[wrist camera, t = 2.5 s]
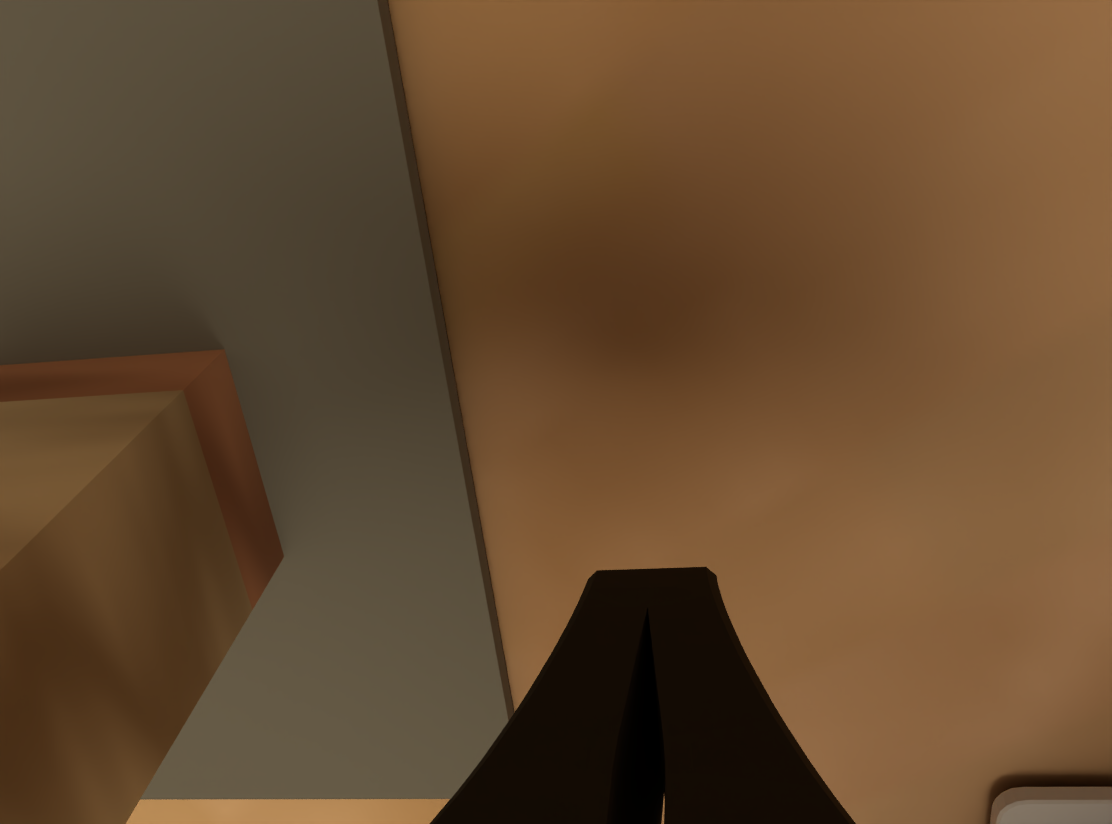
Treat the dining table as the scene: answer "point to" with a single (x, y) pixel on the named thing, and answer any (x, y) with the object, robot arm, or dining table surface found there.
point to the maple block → (118, 570)
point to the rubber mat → (271, 359)
